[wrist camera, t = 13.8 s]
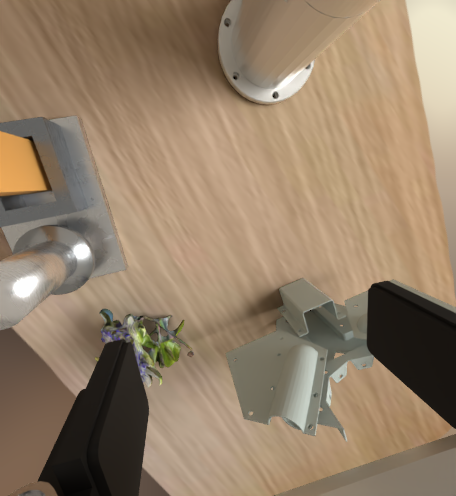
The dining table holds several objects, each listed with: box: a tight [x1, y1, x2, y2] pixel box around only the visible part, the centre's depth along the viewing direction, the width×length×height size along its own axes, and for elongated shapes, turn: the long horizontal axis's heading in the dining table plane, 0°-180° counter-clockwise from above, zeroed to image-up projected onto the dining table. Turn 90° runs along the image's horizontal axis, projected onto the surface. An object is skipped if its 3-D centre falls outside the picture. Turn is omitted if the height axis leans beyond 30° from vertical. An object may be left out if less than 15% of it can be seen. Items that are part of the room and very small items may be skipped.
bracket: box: [226, 278, 456, 442], centre depth 33 cm, size 28×7×20 cm, turn 109°
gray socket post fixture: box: [0, 116, 128, 330], centre depth 25 cm, size 19×12×16 cm, turn 10°
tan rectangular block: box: [0, 131, 52, 196], centre depth 24 cm, size 5×4×11 cm
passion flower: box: [95, 309, 194, 387], centre depth 35 cm, size 11×11×12 cm
